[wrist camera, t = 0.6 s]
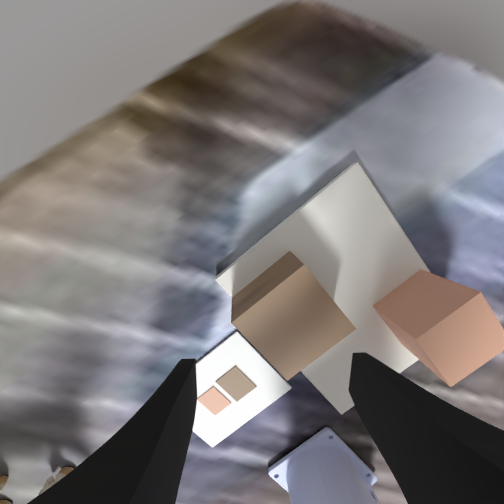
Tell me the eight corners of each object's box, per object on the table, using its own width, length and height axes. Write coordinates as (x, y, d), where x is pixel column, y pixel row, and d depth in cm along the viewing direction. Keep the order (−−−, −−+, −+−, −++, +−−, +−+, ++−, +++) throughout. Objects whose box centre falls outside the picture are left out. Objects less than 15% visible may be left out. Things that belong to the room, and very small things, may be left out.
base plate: (455, 320, 22) (465, 325, 22) (337, 406, 24) (341, 414, 23) (351, 163, 19) (357, 162, 18) (216, 276, 20) (215, 280, 19)
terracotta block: (448, 310, 21) (512, 343, 16) (401, 344, 21) (450, 387, 17) (420, 269, 20) (481, 292, 15) (372, 305, 20) (415, 339, 16)
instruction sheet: (291, 386, 23) (292, 389, 23) (212, 445, 24) (212, 448, 23) (236, 330, 21) (237, 332, 21) (154, 396, 22) (153, 399, 22)
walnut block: (332, 303, 20) (356, 329, 16) (277, 346, 21) (287, 380, 17) (289, 250, 19) (304, 264, 15) (231, 297, 19) (231, 322, 15)
